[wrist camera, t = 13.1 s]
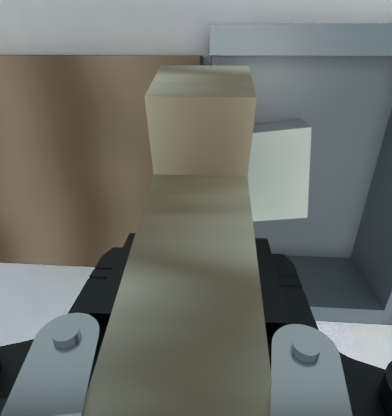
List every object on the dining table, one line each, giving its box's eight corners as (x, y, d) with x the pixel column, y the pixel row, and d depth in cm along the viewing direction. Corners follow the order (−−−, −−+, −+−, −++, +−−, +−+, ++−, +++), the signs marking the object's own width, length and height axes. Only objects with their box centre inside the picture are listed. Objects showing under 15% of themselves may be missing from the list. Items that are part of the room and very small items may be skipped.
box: (207, 261, 22) (204, 314, 17) (212, 33, 15) (209, 24, 11) (360, 268, 21) (398, 325, 16) (430, 33, 15) (522, 23, 10)
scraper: (173, 232, 16) (119, 557, 7) (161, 65, 11) (-81, 516, 2) (232, 234, 15) (247, 570, 7) (248, 65, 10) (371, 556, 2)
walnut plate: (6, 240, 22) (-18, 261, 20) (-53, 55, 17) (-95, 54, 14) (200, 249, 21) (198, 271, 19) (202, 55, 16) (199, 55, 14)
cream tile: (217, 208, 19) (217, 223, 18) (210, 129, 17) (209, 137, 15) (299, 202, 19) (307, 217, 17) (301, 119, 17) (311, 127, 15)
